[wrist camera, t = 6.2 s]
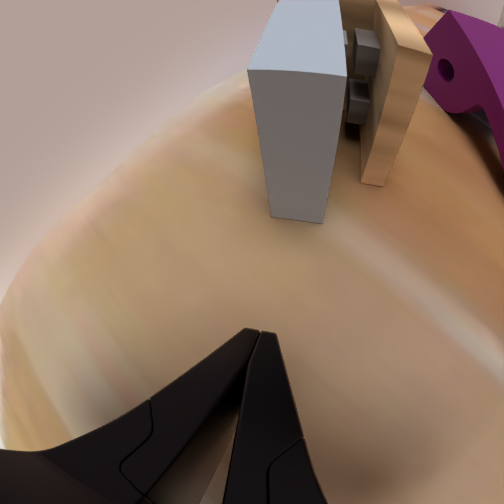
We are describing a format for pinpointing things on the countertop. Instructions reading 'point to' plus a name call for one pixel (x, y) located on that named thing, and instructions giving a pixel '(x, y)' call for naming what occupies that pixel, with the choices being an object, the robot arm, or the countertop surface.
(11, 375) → the countertop surface
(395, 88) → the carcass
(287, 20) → the pale grey oblong block
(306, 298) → the countertop surface
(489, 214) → the countertop surface
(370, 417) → the countertop surface
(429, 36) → the mounting bracket
